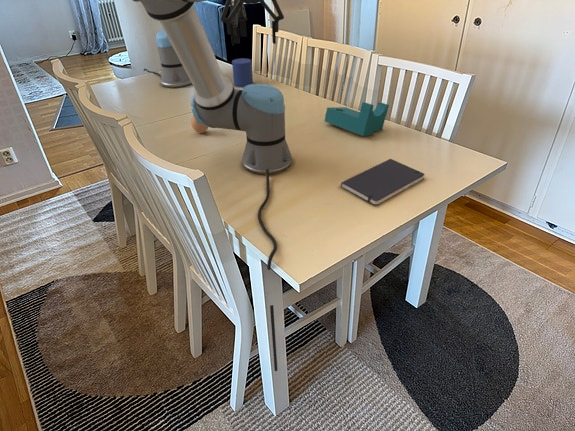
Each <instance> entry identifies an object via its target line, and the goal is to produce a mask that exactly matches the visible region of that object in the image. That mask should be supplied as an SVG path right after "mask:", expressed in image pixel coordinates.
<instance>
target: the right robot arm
mask: <svg viewBox="0 0 575 431" xmlns="http://www.w3.org/2000/svg"><path fill="white" fill-rule="evenodd" d="M206 1H207V0H132V2H134V3H135V2H136V3H139V2H140V3H141V4H142V6H143V8H144V10H145V11H146V13H147V15H148V16H149V17H150V19H152V20H153V21H154V20H155V21H158V22H159V23H160V25H161V27H162V30H163V29H164V31H165V33H166V35H167V37H168V39H169V40H170V42H171V44H172V46H173V48H174V50H175V52H176V54H177V56H178V58H179V60H180V61H181V63H182V65H183V67H184V69H185V71H186V73H187V75H188V77H189V79H190V81H191V82H192V84H191V85H192V87H193V88H194V89H193V91H192V95H191V100H190V101H191V102H190V106H191V107H192V109H191V112H192V116H193V115H194V117H195V119H196V120H197V122H198V123H200V124H201V125H203V126H207V127H208V128H210V129H220V130H221V129H222V130H229V131H230V130H231V131H241V132H245V136H246V137H245V138H246V143H245V146H244V151H243V155H242V166H243V168H244V170H246V171H247V172H249V173H252V174H254V175H255V174H256V175H262V176H265V182H266V185H265V186H266V187H265V188H266V196H265V198H264V200H263V202H262V203H261V205H260V206H259V208H258V211H257V219H258V222H259V225H260V228H261V229H262V231H263V232H264V234H265V235H266V236H267V237H268V239H269V240H270V241H271V242H272V245H273V247H272V248H273V249H272V250H271V252H270V254H269V255H268V258H267V264H266V266H267V267H266V270H268V271H271V268H272V260H273V258H274V255H276V252H277V249H278V244H277V241H276V238H274V236H273V235H272V234H271V233H270V232H269V231H268V229H267V228H266V226H265V224H264V222H263V219H262V211H263V209H264V207H265V206H266V205H267V203H268V201H269V199H270V175H277V174H280V173H283V172H286V171H287V170H289V169H290V167H291V166H292V163H293V158H292V153H291V150H290V148H289V145H288V143H287V140H286V105H285V98H284V94H283V92H282V91H281V90H280V89H279V88H277V87H275V86H273V85H270V84H264V83H253V84H251V85H247V86H245V87H242V89H237V88H235V86H234V83H233V82H232V80H231V79H230V78H229V77H228V76H225V75H224V74H223V72H222V70H221V67H220V65H219V63H218V60H217V58H216V56H215V53H214V51H213V48H212V46H211V44H210V42H209V38H208V39H207V36H208V35H207V36H206V34H205V32H204V29H205V28H204V27H203V25H202V22H201V20H200V17H199V15H198V12H197V10H196V8H195V4H196V3H200V2H206ZM231 1H232V0H226V1H225V4H224V6H223V9H222V12H221V15H220V22H222V23H225V24H226V32H227V35H230V38H231V46H232V47H235V45H236V44H234V33H233V23H230V22H231V21H232V19H233V18H234V16H235V15H236V13H237V12H238V10H239V9H240V7H241V6H242V5H243V3H244V4H246V5H251V4H253V5H257V4H258V3H259V4H260V5H261V6H262V7H263V8H264V9H265V11H266V12H267V13H268V14H269V15H270V17H271V18H272V19H273V20H271V37H272V38H271V40H272V44H273V45H276V42H277V41H276V40H277V36H276V33H279V31H280V30H279V27H280V26H279V22H280V21H282V20H284V18H285V15H284V14H283V11H282V9H281V8H280V5H279V4H278V1H277V0H271V3H272V4H273V6H274V9H275V11H276V13H277V15H276V14H275V12H273V10H272V9H271V7H270V6H269V5H268V4H267V3H266V1H264V0H239V1H238V3H237V4H236V6H235V7H234V9H233V11H232V12H231V14H230V13H229V15H228V17H227V14H228V11H229V10H230V3H231ZM203 28H204V29H203ZM269 308H270V309H269V312H270V325H271V326H270V327H271V341H272V353H273V368H274V372H278V357H277V355H278V354H277V342H276V327H275V326H276V324H275V311H274V308H275V307H274V304H272V305H270V306H269Z"/></svg>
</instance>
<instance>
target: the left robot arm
mask: <svg viewBox="0 0 575 431" xmlns="http://www.w3.org/2000/svg"><path fill="white" fill-rule="evenodd" d="M238 1H239V0H232V1H231V3H230V6H229V15H230V14H231V12H232V11H233V9H234V7H235V6H236V4H237V3H238ZM246 21H248V17H247V13H246V9H245V3H243V5H242V6H241V7H240V9H239V10H238V12H237V13H236V15H235V16H234V18H233V19H232V21H231V22H230V23H233V33H234V45H236V44H237V45H238V44H241V38H240V37H248V34H247V24H246ZM203 29H204V32H205V34H206V36H207V39H208V40H209V37H208V32H207V31H206V28H204V27H203ZM155 41H156V42H155V43H156V46H157V52H158V57H159V62H160V67H161V70H160V73H159V72H156V71H151V70H148V69H147V68H144V69H143V72H145V71H146V72H148V73H149V74H155V75H158V76H159V77H160V79H159V80H160V86H162V87H164V88H169V89H170V88H171V89H173V88H174V89H175V88H176V89H177V88H184V87H188V86H190V85H193V84H192V82H191V81H190V79H189V77H188V75H187V73H186V71H185V69H184V67H183V65H182V63H181V61H180V60H179V58H178V56H177V54H176V52H175V50H174V48H173V46H172V44H171V42H170V40H169V39H168V37H167V35H166V33H165V31H164V29H163V28H162V29H161V30H159V31H158V32H156V35H155Z"/></svg>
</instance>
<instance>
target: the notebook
mask: <svg viewBox="0 0 575 431" xmlns="http://www.w3.org/2000/svg"><path fill="white" fill-rule="evenodd" d="M424 176H425V173H424V172H422V171H420V170H417V169H415V168H413V167H410V166H408V165H406V164H404V163H401V162H399V161H397V160H395V159H393V158H389V159H387V160H385V161H382V162H380V163H379V164H377V165H375V166H372V167H370V168H368V169H366V170H364V171H362V172H360V173H358V174H356V175H353V176H351V177H350V178H348V179H345V180H344V181H341V182H340V183H341V184H340V187H341V188H342V189H344V190H345V191H347V192H349V193H350V194H353V195H355V196H356V197H358V198H360V199H362V200H363V201H365V202H367V203H369V204H371V205H373V206H379V205H381V204H382V203H384V202H386V201H388V200H390V199H391V198H393V197H395V196H397V195H398V194H400V193H402V192H404V191H406V190H407V189H409V188H411V187H413V186H415V185H416V184H418V183H420V182H422V181H423V180H424Z"/></svg>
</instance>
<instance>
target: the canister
mask: <svg viewBox="0 0 575 431" xmlns="http://www.w3.org/2000/svg"><path fill="white" fill-rule="evenodd" d="M231 66H232V76H233V86H234V87H237V88H244V87H245V86H247V85H251V84H254V79H253V78H254V77H253V64H252V59H250V58H243V57H241V58H235V59H233V60H231Z"/></svg>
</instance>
